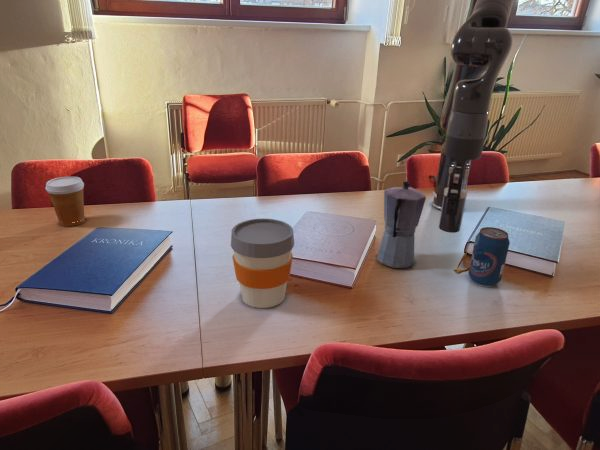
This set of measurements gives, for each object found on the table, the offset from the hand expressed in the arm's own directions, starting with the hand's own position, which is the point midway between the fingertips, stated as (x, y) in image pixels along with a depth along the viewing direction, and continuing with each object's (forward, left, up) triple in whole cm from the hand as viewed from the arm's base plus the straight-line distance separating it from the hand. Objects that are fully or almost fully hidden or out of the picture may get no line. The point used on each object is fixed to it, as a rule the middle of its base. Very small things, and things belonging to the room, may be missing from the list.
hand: (452, 210), depth 97 cm
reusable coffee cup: (+27, -33, -16) cm, 45 cm away
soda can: (0, +9, -16) cm, 18 cm away
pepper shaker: (0, 0, -4) cm, 4 cm away
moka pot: (0, -11, -16) cm, 19 cm away
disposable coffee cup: (+17, -99, -16) cm, 101 cm away
